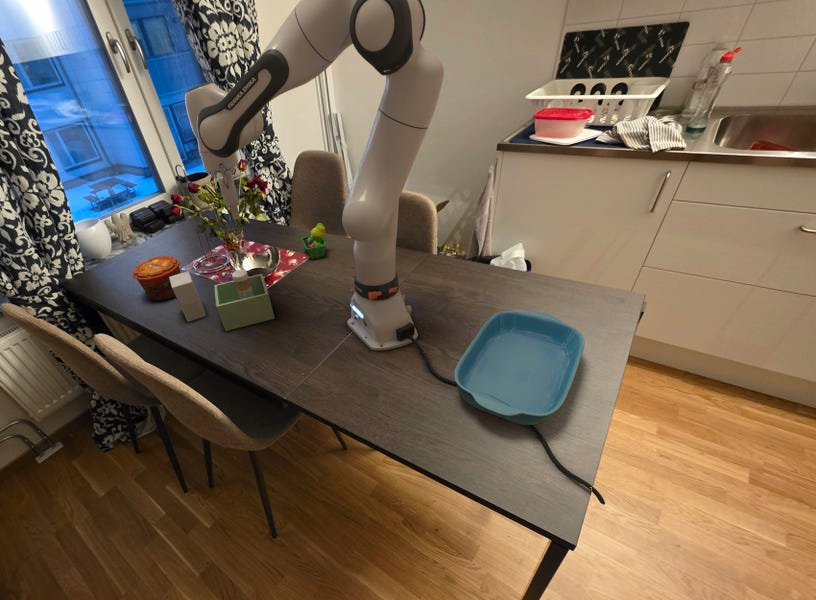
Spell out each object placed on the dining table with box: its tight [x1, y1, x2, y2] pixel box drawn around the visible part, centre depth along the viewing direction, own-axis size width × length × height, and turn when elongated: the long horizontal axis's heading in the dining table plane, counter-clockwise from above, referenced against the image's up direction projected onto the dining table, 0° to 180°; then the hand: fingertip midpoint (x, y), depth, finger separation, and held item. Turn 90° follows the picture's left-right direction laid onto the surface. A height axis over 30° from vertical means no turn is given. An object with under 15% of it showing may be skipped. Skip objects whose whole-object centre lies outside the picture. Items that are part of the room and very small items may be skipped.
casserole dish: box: [453, 310, 585, 426], centre depth 89 cm, size 37×22×7 cm, turn 145°
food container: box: [132, 255, 182, 302], centre depth 138 cm, size 16×16×11 cm
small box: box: [169, 271, 207, 323], centre depth 124 cm, size 8×6×13 cm
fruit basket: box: [301, 222, 327, 260], centre depth 149 cm, size 11×9×11 cm
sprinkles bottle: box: [231, 269, 254, 300], centre depth 120 cm, size 5×5×13 cm
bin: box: [213, 273, 276, 332], centre depth 122 cm, size 14×16×9 cm
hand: (235, 212), depth 110 cm, fingers open, 8 cm apart
